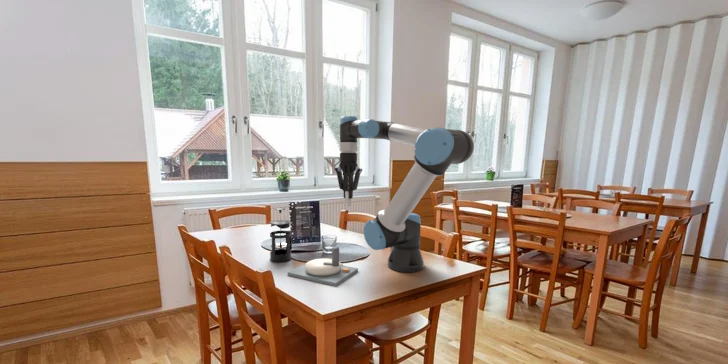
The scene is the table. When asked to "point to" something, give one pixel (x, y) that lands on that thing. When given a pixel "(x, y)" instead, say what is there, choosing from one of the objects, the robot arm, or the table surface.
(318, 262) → the dial
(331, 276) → the dial board
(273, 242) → the french press
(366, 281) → the table surface
